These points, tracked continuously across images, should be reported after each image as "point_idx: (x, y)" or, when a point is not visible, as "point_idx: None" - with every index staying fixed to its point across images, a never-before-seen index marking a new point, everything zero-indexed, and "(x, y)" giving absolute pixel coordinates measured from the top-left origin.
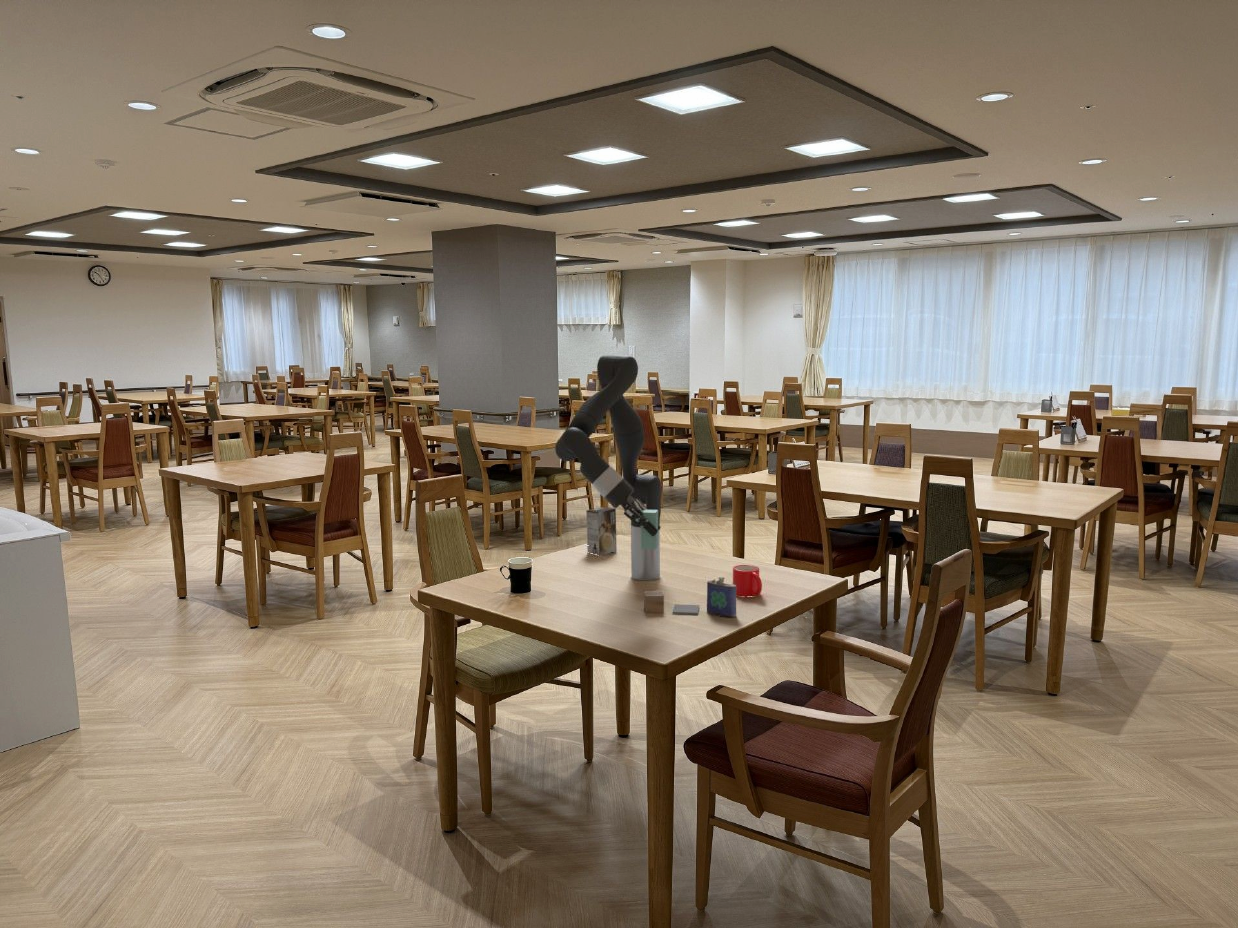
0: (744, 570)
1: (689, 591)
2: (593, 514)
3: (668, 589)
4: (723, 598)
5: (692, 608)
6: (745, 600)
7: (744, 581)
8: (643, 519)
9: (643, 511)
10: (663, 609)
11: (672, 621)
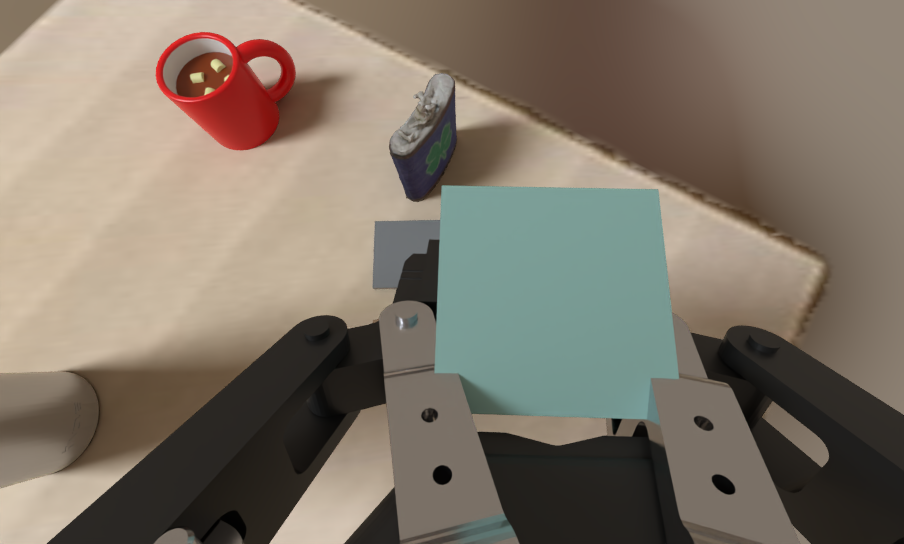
0: (174, 84)
1: (225, 262)
2: None
3: (203, 326)
4: (448, 131)
5: (407, 236)
6: (308, 117)
7: (256, 91)
8: (804, 352)
9: (597, 391)
10: None
11: None
